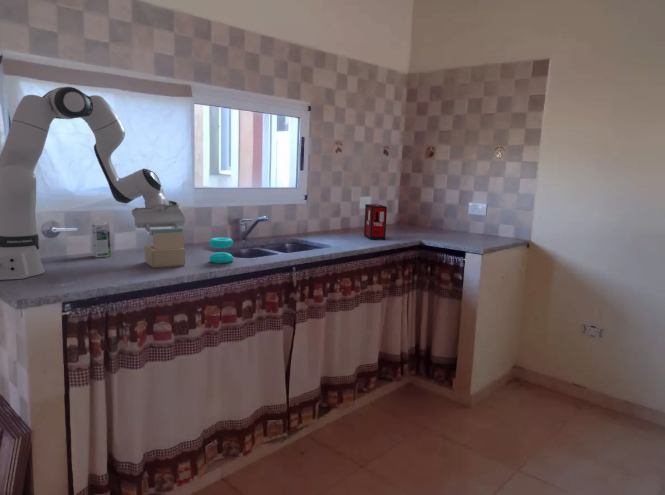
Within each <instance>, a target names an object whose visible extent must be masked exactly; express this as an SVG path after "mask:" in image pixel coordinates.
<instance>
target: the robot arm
mask: <svg viewBox="0 0 665 495" xmlns="http://www.w3.org/2000/svg"><path fill="white" fill-rule="evenodd" d="M79 118H80V119H82V120H83V121H84V122H85V123H87V125H88V127H89V128H90V131H92V133H93V135H94V138H95V144H94V146H93V150H94V155H95V157H96V159H97V161H98V164H99V166H100V168H101V170H102V173H103V175H104V177H105V179H106V181H107V185H108V187H109V190H110V192H111V195H112V197H113V198H114V199H115V201H116V202H118V203H122V204H125V205H126V204H129V203H130V202H133V201H134V200H136V199H138V198H139V197H140V198H141V197H142V199H143V200H144V206H145V207H135V208H133V209H132V210H131V215H132V216H133V217H134V219H133V222H134V226H135V227H136V228H137V229H144V228H145V231H147V232H148V233H149V236H153V232H152V229H151V228H170V227H173V229H174V228H179V227H184V226H185V225H186V222H187V218H186V215H185V212H184V210H183V209H182V208H181V207H180V203H179V202H178V201H174V200H170V199H167V198H166V197H165V191H164V188H163V186H162V183H161V181H160V178H159V177H158V175H157V174H156V173H155V171H152V170H151V169H147V168H141V169H139V170H137V171H134V172H132V173H130V174H129V175H126V176H123V177H119V175H118V174H117V171H116V168H115V166H114V164H113V162H112V155H113V153H114V152H115V151H116V150H117V148H119V146H120V145H121V144H122V142H123V141H124V139H125V137H126V129H125V127H124V124H123V123H122V121H121V119H120V117H118V115H117V113H116V111H115V110H114V109H113V107H111V105H110V104H109V103H108V102H107V101H106V99H104V97H102V96H100V95H97V94H96V95H95V94H94V95H93V94H92V95H88V94H86V93H84V92H82V91H81V90H80V89H78V88H77V87H72V86H60V87H57V88H54V89H51V90H49V91H48V92H46V93H45V94H44V95H43V96H40V95H36V94H26V95H24V96H23V97H22V98H21V100H20V101H19V103H18V105H17V107H16V109H15V112H14V114H13V117H12V120H11V123H10V126H9V129H8V133H7V135H6V140H5V142H4V145H3V147H2V150H1V151H0V281H5V280H23V279H26V278H27V279H28V278H31V277H34V276H39V275H41V274H44V273H45V269H44V265H43V262H42V260H41V255H40V250H39V249H40V237H39V234H38V231H37V219H36V218H37V217H36V215H37V214H36V207H37V206H36V205H37V177H36V175H35V173H34V171H35V169H36V167H37V164H38V162H39V160H40V158H41V156H42V154H43V151H44V148H45V144H46V140H47V138H48V134H49V131H50V127H51V124H52V122H53V120H55V119H59V120H61V119H62V120H72V119H73V120H74V119H79Z"/></svg>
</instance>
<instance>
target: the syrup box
mask: <svg viewBox="0 0 665 495" xmlns="http://www.w3.org/2000/svg"><path fill="white" fill-rule="evenodd" d="M91 232H92V234H91V235H92V247H93V248H92V250H93V257H95V258H97V259H98V258H105V257H109V258H110V257H111V256H112V254H111V252H112V251H111V236H110V234H111V232H110V224H109V223H108V222H96V223H95V222H94V223H93V222H92V223H91Z"/></svg>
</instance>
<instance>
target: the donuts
mask: <svg viewBox="0 0 665 495" xmlns="http://www.w3.org/2000/svg"><path fill="white" fill-rule="evenodd" d="M208 243H209V245H210V246H211V247H212V248H216V249H226V248H230V247H232V246H233V245H234V240H233V239H232V238H229V237H213V238H211V239H210V240H209V241H208ZM233 260H234V256H233V255H232V254H231V253H229V252H222V251H221V252H220V251H219V252H214V253H212V254H211V255H209V261H210V262H211V263H213V264H229V263H231V262H233Z"/></svg>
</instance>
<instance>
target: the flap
mask: <svg viewBox="0 0 665 495" xmlns="http://www.w3.org/2000/svg"><path fill="white" fill-rule="evenodd" d="M151 230H152V232H153V235H152V240H153V245H154V250H159V249H174V248H184V249H185V241H184V230H183V227H181V228H180V227H178V228H174V227H173V228H156V229H154V228H153V229H151Z"/></svg>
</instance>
